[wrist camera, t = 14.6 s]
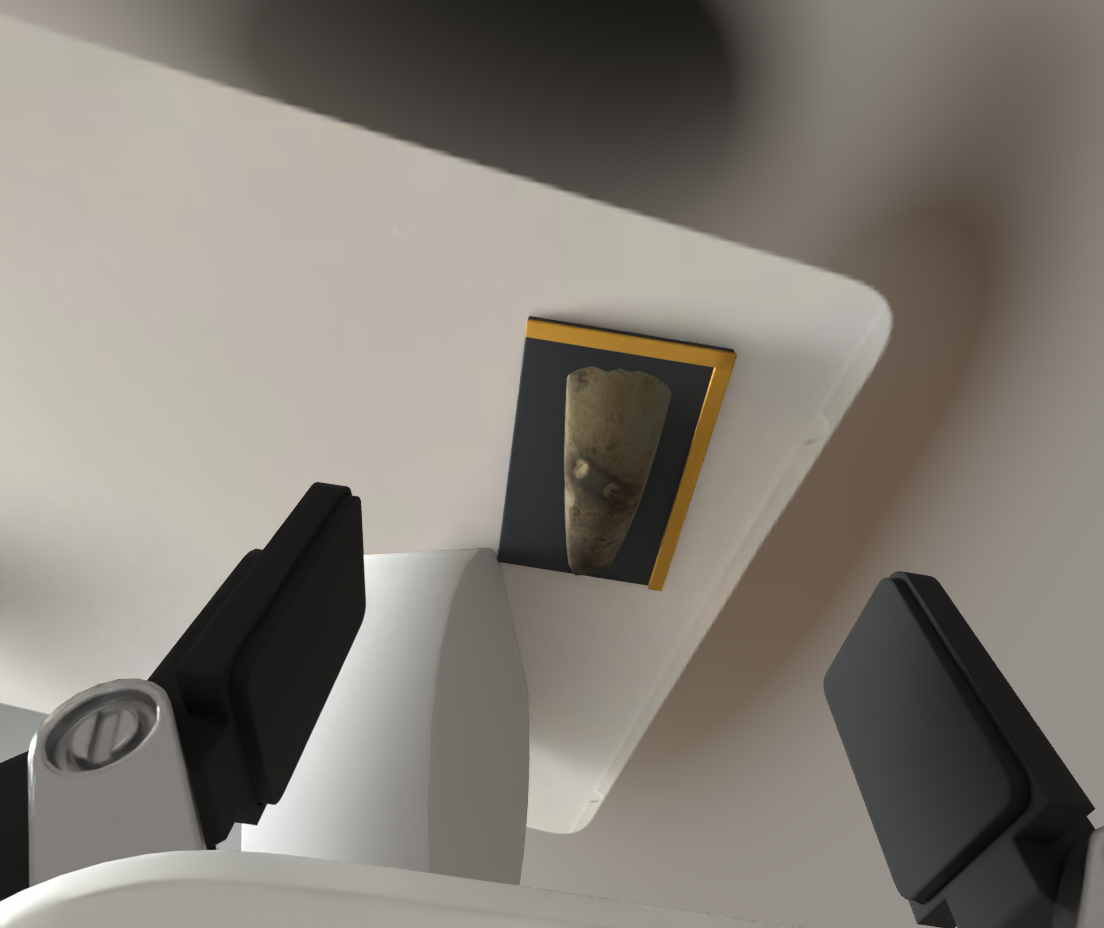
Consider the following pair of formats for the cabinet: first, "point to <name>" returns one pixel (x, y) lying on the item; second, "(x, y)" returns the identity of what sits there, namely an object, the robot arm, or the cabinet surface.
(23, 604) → the cabinet surface
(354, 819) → the alarm clock
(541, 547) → the corner mat
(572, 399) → the stone
